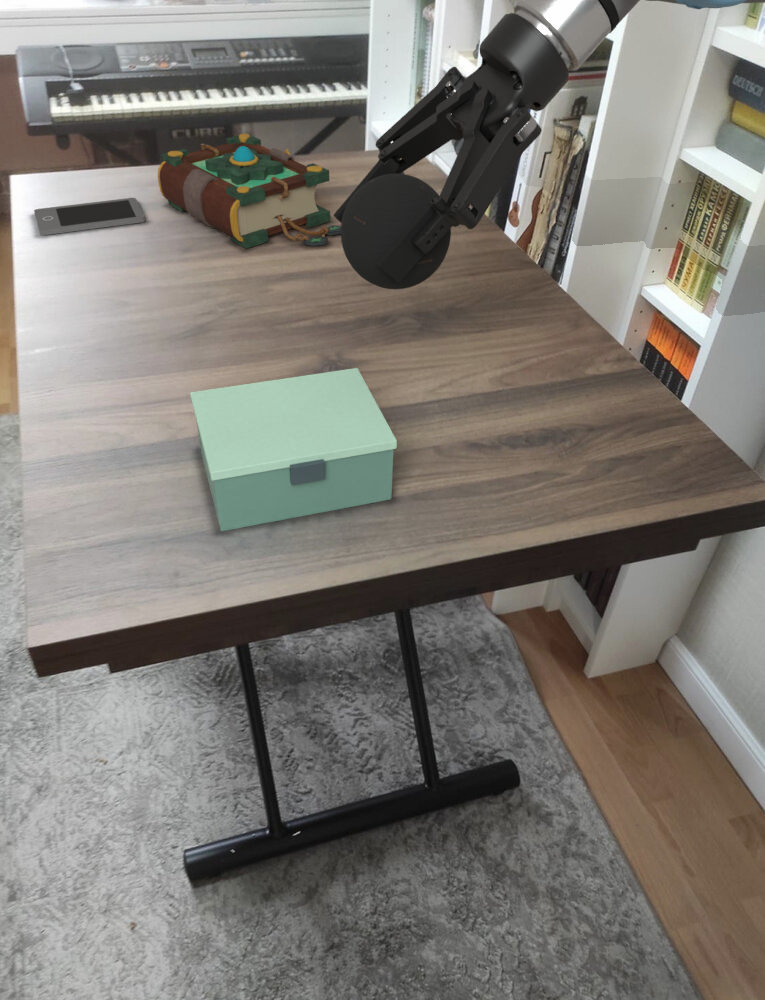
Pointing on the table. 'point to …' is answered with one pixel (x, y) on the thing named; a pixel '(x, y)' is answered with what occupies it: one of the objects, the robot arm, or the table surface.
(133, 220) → the smartphone
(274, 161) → the book
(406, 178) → the speaker
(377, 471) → the box
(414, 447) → the table surface
